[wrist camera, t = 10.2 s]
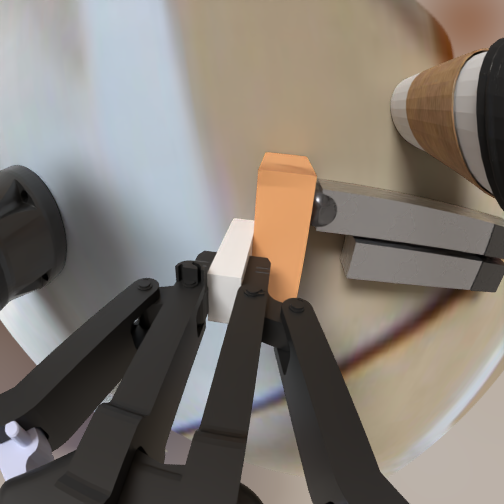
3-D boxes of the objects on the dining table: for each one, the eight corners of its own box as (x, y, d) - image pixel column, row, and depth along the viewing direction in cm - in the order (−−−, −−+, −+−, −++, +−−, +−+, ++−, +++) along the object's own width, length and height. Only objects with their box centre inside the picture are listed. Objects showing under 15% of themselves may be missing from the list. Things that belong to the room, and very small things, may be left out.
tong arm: (340, 258, 23) (346, 278, 20) (347, 226, 22) (356, 243, 19) (481, 275, 22) (495, 292, 19) (491, 251, 21) (507, 266, 18)
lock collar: (256, 265, 24) (247, 315, 19) (265, 152, 20) (258, 169, 14) (291, 269, 24) (292, 320, 18) (306, 156, 19) (316, 176, 14)
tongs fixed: (297, 213, 22) (299, 229, 19) (302, 176, 20) (305, 187, 18) (492, 244, 21) (508, 259, 18) (501, 218, 19) (519, 231, 16)
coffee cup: (461, 166, 18) (592, 248, 5) (376, 161, 19) (505, 257, 6) (460, 72, 14) (603, 78, 1) (369, 55, 15) (501, -7, 2)
